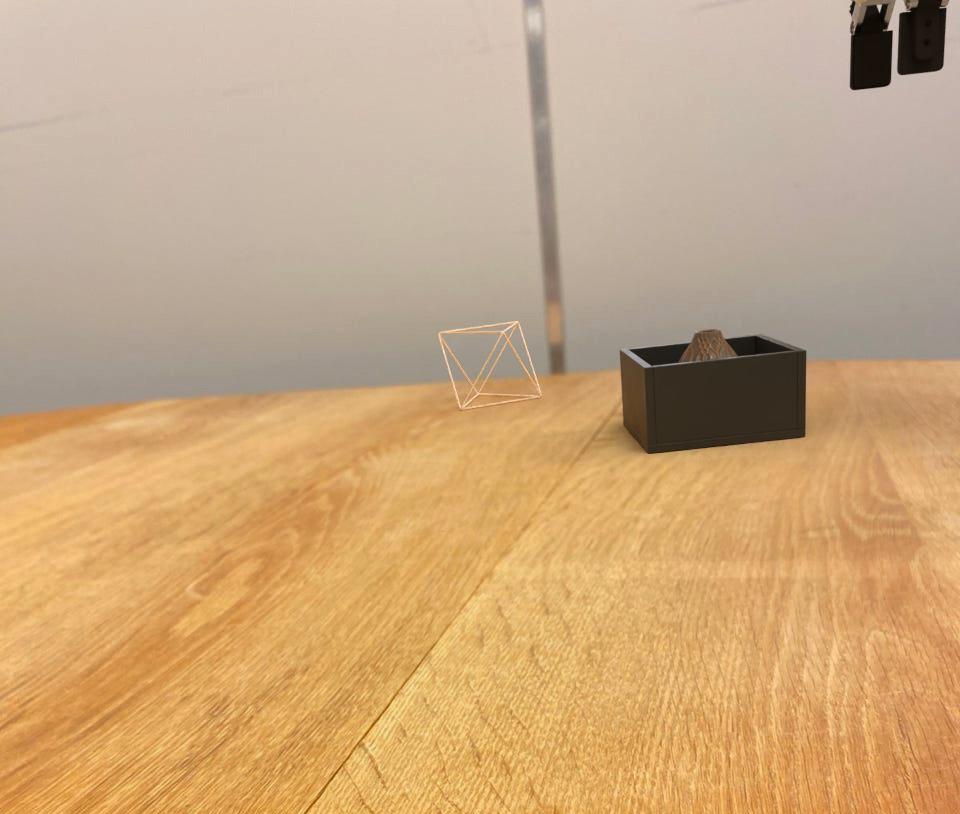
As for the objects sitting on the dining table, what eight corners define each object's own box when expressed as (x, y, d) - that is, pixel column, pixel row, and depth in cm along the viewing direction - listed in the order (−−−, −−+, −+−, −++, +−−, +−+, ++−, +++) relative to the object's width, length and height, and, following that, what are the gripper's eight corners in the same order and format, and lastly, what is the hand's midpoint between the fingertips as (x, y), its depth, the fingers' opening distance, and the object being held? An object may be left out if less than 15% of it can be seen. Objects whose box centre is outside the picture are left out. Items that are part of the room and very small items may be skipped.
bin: (761, 410, 112) (761, 334, 109) (805, 436, 98) (806, 350, 95) (623, 425, 112) (619, 349, 109) (648, 453, 98) (644, 367, 95)
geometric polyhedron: (439, 401, 139) (430, 330, 136) (517, 388, 142) (510, 318, 138) (467, 414, 128) (458, 337, 124) (551, 400, 131) (545, 324, 127)
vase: (743, 428, 100) (742, 332, 97) (670, 431, 102) (666, 338, 99) (747, 414, 106) (747, 323, 103) (678, 417, 108) (675, 328, 105)
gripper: (1016, -242, 68) (995, 60, 74) (907, -154, 84) (897, 88, 90) (899, -229, 68) (888, 72, 74) (812, -143, 84) (809, 98, 90)
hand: (893, 80), depth 82 cm, fingers open, 9 cm apart
